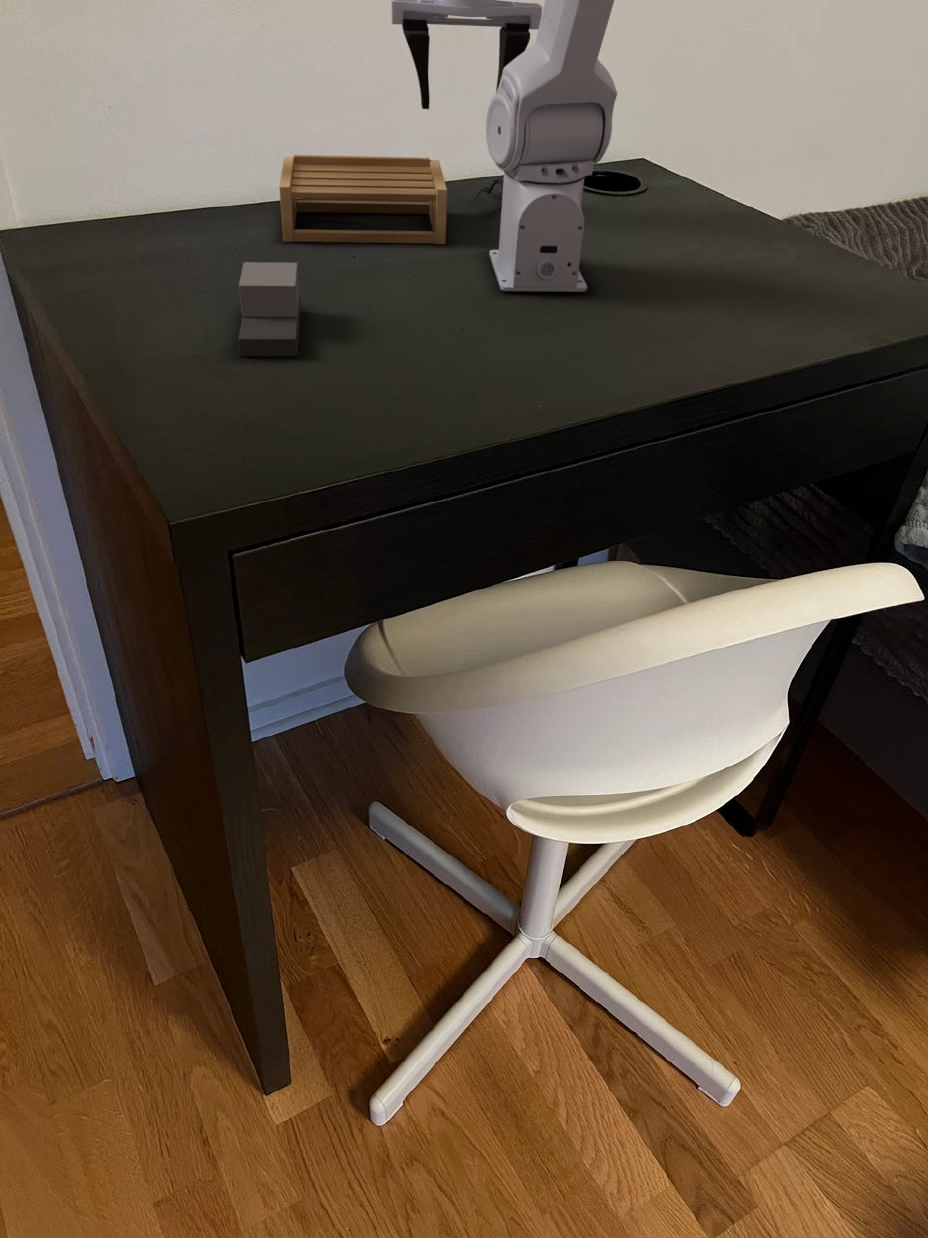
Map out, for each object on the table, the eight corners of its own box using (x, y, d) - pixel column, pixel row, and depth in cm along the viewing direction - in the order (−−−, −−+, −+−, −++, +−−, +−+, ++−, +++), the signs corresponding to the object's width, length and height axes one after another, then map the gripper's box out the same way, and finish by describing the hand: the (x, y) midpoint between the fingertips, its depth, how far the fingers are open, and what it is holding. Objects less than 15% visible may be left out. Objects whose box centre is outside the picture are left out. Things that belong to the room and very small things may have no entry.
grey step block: (297, 356, 74) (293, 305, 72) (240, 356, 74) (234, 305, 71) (300, 310, 81) (297, 262, 78) (248, 310, 80) (243, 261, 78)
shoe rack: (445, 244, 95) (447, 187, 91) (283, 242, 93) (279, 184, 90) (437, 211, 102) (439, 157, 99) (287, 209, 101) (283, 154, 97)
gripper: (539, -55, 92) (526, 100, 101) (389, -62, 91) (390, 96, 100) (550, -47, 87) (536, 116, 96) (392, -54, 85) (392, 112, 94)
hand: (462, 107), depth 97 cm, fingers open, 7 cm apart
